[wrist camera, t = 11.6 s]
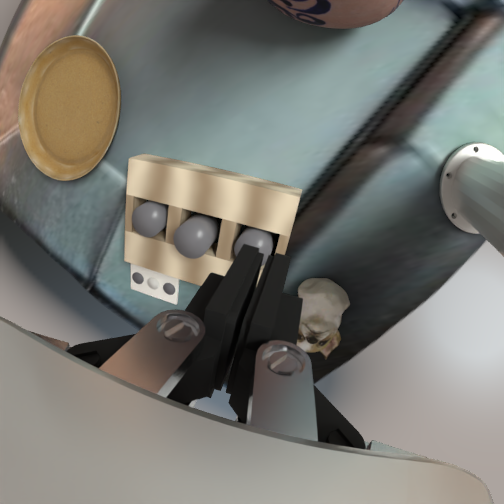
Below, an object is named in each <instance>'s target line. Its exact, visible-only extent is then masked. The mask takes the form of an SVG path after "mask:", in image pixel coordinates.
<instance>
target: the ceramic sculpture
mask: <svg viewBox="0 0 504 504" xmlns="http://www.w3.org/2000/svg"><path fill="white" fill-rule="evenodd" d="M298 297H300V298H303V304H302V311H301V318H300V325H299V332H298V338H297V346H299V347H300V348H301V349H303V350H304V351H305V352H318V351H321V353H322V354H323V356H324V358H325V359H327V358H328V356H329V354H330V353H331V352H332V351H333V350H334V349H335V348H336V347H337V346H338V345H339V341H340V340H341V337H340V333H339V331H338V327H339V325H340V323H341V317H342V313H343V312H344V310H345V309H347V308H348V306H349V305H350V302H349V299H348V295H347V293H346V292H345V291H344V290H343V289H342V288H341V287H340V286H339V285H337V284H336V283H334V282H333V281H331V280H330V279H327V278H310V279H306V280H305V281H304V282H302V283H301V285H300V286H299V288H298Z"/></svg>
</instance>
